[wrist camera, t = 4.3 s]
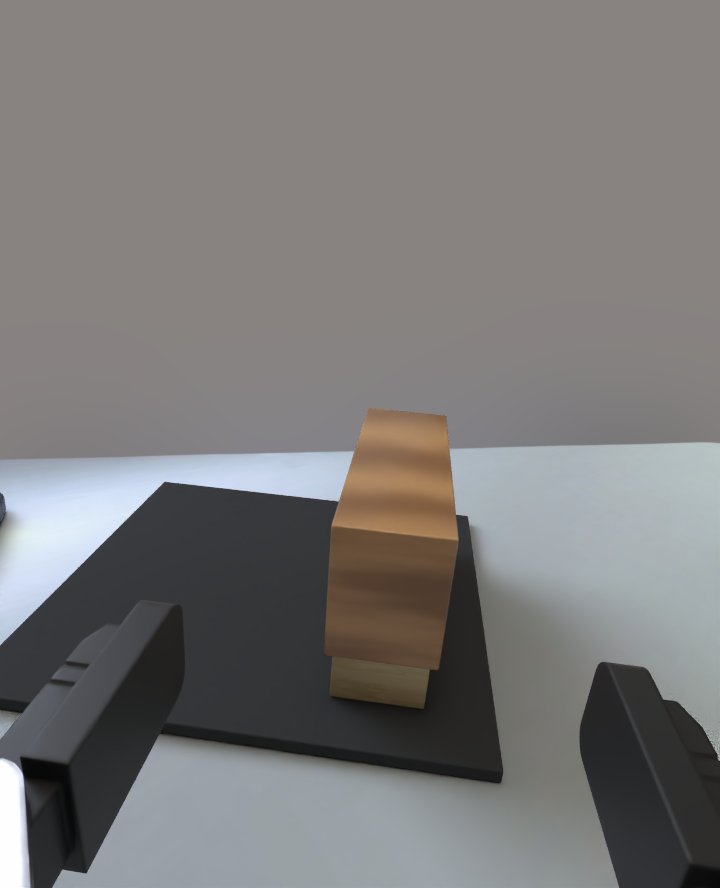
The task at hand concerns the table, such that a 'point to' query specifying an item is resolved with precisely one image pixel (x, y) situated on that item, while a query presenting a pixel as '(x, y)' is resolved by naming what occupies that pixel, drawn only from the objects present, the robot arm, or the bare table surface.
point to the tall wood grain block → (392, 560)
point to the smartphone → (2, 507)
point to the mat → (263, 634)
